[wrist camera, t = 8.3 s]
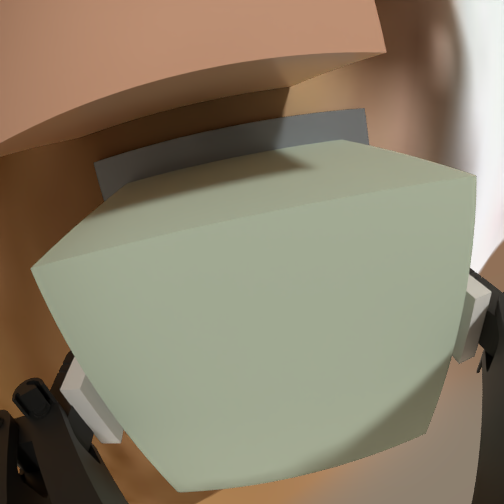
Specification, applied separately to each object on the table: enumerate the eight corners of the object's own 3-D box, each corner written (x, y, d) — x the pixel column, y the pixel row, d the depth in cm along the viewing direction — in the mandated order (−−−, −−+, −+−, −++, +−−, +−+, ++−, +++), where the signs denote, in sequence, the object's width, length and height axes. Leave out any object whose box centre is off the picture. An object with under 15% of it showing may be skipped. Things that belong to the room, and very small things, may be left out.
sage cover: (127, 183, 14) (30, 268, 6) (341, 139, 14) (476, 175, 6) (185, 354, 18) (178, 492, 10) (354, 317, 18) (425, 433, 10)
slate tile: (96, 161, 14) (93, 162, 13) (360, 108, 14) (364, 108, 14) (171, 369, 19) (170, 374, 19) (372, 325, 19) (374, 328, 19)
